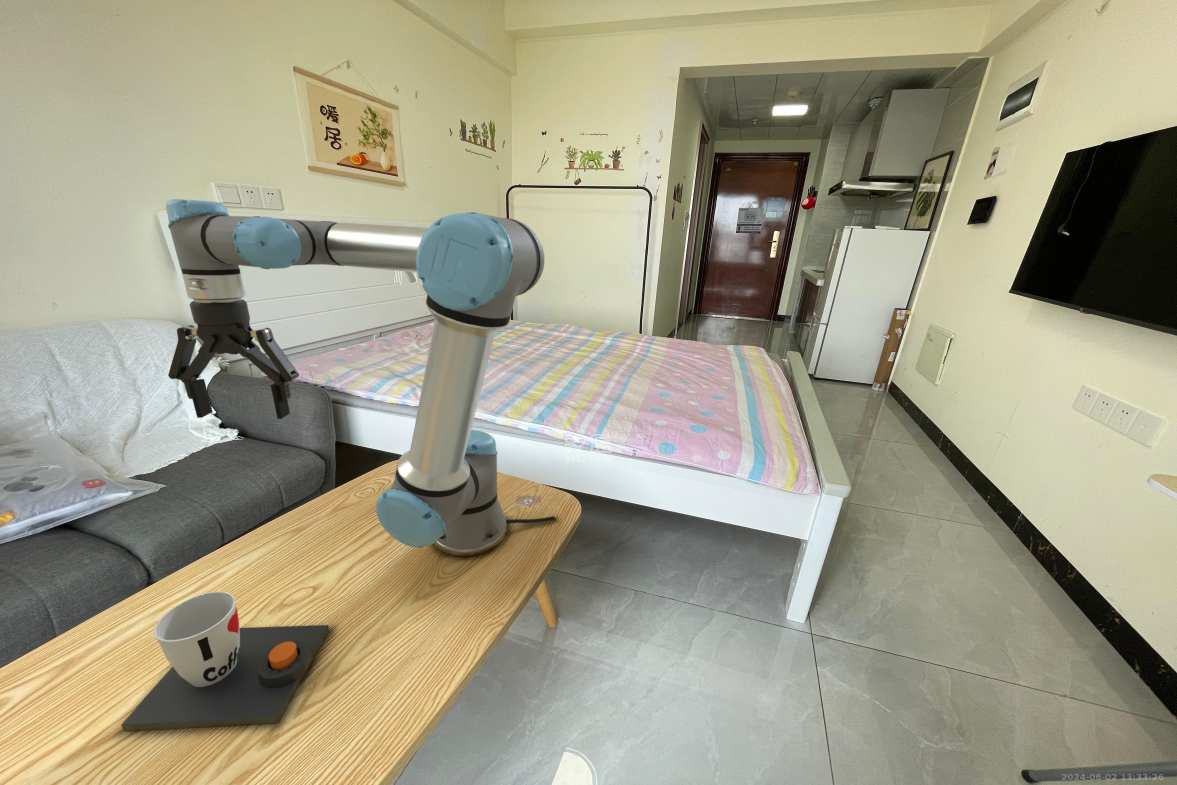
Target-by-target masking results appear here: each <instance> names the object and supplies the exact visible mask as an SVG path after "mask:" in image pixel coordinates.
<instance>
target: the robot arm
mask: <svg viewBox="0 0 1177 785" xmlns="http://www.w3.org/2000/svg"><path fill="white" fill-rule="evenodd" d="M165 209H166V214H167V219H168V223H167V226H168V229H169V231H170V235H171V238H172V242H173V246H174V250H175V253H176V257H177V261H178V264H179V268H180V270H181V274H182V279H183V283H184V287H185V291H186V296H187V298H188V299H190V300H192V301H190V303H189V309H190V312H191V316H192V320H193V323H194V324H196V325H197V327H195V326H194V325H192V324H190V325H185V326H181V327H178V328H177V329H176V334H177V335H176V336H177V343H176V346H175V350H174V354H173V356H172V361H171V364H170V367H169V371H168V374H167V375H168V378H169V379H171V380H178V381H181V382H182V383H183V384H184V388H185V392H186V396H187V398H188V399H189V400H192V403H193V407H194V411H195V415H196V418H197V419H203V418H204V417H207V416H208V415H210V414H212V413H213V408H212V404H211V401H210V396H209V393H208V389H207V385H206V380H205V379H204V378H201V377H202V376H201V375H202V374H203V372H204V371H205V369H206V367H207V366H208V364H209V363H210V362H211V360H212V359H213V357H214V356H215V355H224V354H228V355H238V354H239V355H240V356H241V357H243V358H246V359H247V360H249V361H250V362H251V363H252V364H253V365H254V366H255V367H256V368H258V370H260V371H261V372H263V374H264V375H265V376H267V377H268V378H269V379H270V380H271V381H272V382H273V383H271V384H270V391H271V394H272V399H273V404H274V409H275V412H276V419H277V420H282V419H284V418H285V417H286V416H288V415H290V414H291V411H290V406H289V399H291V397H292V393H291V388H290V382H291V381H293V380H295V379H297V378H299V377H300V373H299V372H298V370H297V369H296V367H295V366H294V365H293V363H292V362H291V361H290V359H289V358H288V357H287V355H286V354H285V352H284V351H283V350H282V348H281V346H279V344H278V343H277V341H276V340H275V338H274V333H273V331H272V328H270V327H263V328H261V329H252V327H251V325H250V323H251V322H250V321H251V316H250V311H249V307H248V303H247V301H246V300H245V299H243V298H244V297H245V296H246V292H245V286H244V282H243V277H242V273H241V268H240V266H244V267H251V268H260V269H263V270H271V269H273V270H275V269H287V268H291V267H293V266H307V265H314V266H315V265H316V266H317V265H324V266H325V265H327V266H339V267H352V268H353V267H354V268H364V269H374V270H376V269H377V270H387V271H395V272H396V271H397V272H406V273H407V272H408V273H416V274H417V277H418V280H419V279H420V280H421V282H422V285H421V286H422V289H423V290H424V292H425V293H426V294H427V295H426V300H425V307H426V308H427V310H428V311H429V312H430V314H431V315H432V316H433V318H434V322H433V327H432V332H431V337H430V343H429V348H428V354H427V359H426V363H425V370H424V375H423V380H422V386H421V392H420V396H419V402H418V406H417V411H416V417H415V418H416V419H415V422H414V426H413V427H414V428H413V433H412V438H411V444H410V449H409V450H407V451H406V452H404V453H402V455H401V456H400V457H399V459H398V461H397V464H396V465H397V466H396V469H395V476H394V481H393V483H392V485H391V487H389V488H387V489H384V491H383V492H382V493H381V495H380V496H379V497H378V499H377V500H376V504H375V513H376V517H377V520H378V522H379V524H380V525H381V527H383V529H384V530H385V531H386V533H387V535H389V536H390V537H391V538H393V539H394V540H396V541H397V542H399V543H401V544H403V545H405V546H408V547H411V548H417V549H420V548H421V549H422V548H424V547H425V548H427V547H430V546H432V545H435V547H436V548H437V549H438V550H439V551H440V552H442V553H445V554H447V555H450V556H454V557H470V556H477V555H481V554H484V553H486V552H488V551H491V550H493V549H494V548H496V547H497V546H498V545H499V544H501V543H502V541H503V540H504V539H505V537H506V535H507V528H508V527H507V526H508V525H507V524H536V523H544V522H549V521H550V522H551V521H555V520H556V516H555V515H552V516H546V517H541V518H516V519H515V518H512V519H511V518H510V519H506V516H505V513H504V511H503V509H502V506H501V504H500V501H499V499H498V456H497V455H498V450H497V442H496V439H495V437H494V436H492V435H491V434H490V433H488V432H485V431H482V430H478V429H477V430H476V429H472V428H473V424H474V420H475V416H476V411H477V408H478V404H479V401H480V397H481V392H482V391H481V390H482V387H483V384H484V379H485V376H486V372H487V367H488V364H489V360H490V355H491V352H492V347H493V344H494V340H495V335H496V333H498V332H500V331H501V330H504V329H506V328H507V327H508V326H509V324H510V319H511V316H512V312H513V310H514V309H513V307H514V305H515V304H514V303H515V300H516V297H518V296H521V295H524V294H526V293H527V292H529V291H530V290H531V289H532V288H534V287H535V285H537V284H538V282H539V280H540V278H541V277H542V275H543V272H544V269H545V251H544V247H543V244H542V241H541V240H540V238H539V237H538V235H537V234H536V232H535V231H534V230H533V229H532V228H531V227H529V226H528V225H527V224H525V223H524V222H522V221H519V220H517V219H514V218H509V217H500V216H495V215H489V214H483V213H478V212H476V211H470V212H469V211H467V212H461V213H460V212H459V213H458V212H457V213H450V214H447V215H444V216H442V217H440V218H439V219H437V220H436V221H434V222H433V223H432V224H431V225H429V227H421V226H406V225H405V226H403V225H388V224H387V225H386V224H373V223H372V224H369V223H355V222H337V221H332V220H331V221H330V220H303V219H290V218H276V217H275V218H274V217H270V216H260V215H253V216H246V215H244V216H243V215H230V214H229V211H228V208H227V206H226V205H225V204H224V203H222V202H220V201H210V200H209V201H208V200H199V199H198V200H197V199H183V198H182V199H181V198H172V199H168V200H167V201H166V204H165ZM198 338H199V339H200V340H201V341H202V342H203V343H202V345H200V347H199V349H198V350H197V354H196V355H195V357H194V358H193V359H192V357H193V353H194V350H195V347H196V344H197V339H198ZM253 340H254V341H255V342H258V344H259V345H258V344H256V343H255V342H254V341H253ZM261 349H262V350H261ZM191 360H192V361H191ZM554 516H555V517H554Z"/></svg>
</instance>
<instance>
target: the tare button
mask: <svg viewBox="0 0 1177 785" xmlns="http://www.w3.org/2000/svg"><path fill="white" fill-rule="evenodd" d="M297 656H298V651H297V647H296V644H295V643H294V642H290V641H289V642H284V643H281V644H279V645H277V646H276V647H275V648H273V649H272V651H271V652H270V654H269V661H270V665H271V667H272V668H273V669H275V670H280V669H283V668H286V667H288V666H290V665H291V664H292V663H293V662H294V661H295V660H296V659H297Z"/></svg>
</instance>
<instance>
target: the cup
mask: <svg viewBox="0 0 1177 785" xmlns="http://www.w3.org/2000/svg"><path fill="white" fill-rule="evenodd" d="M239 618H240V617H239V613H238V607H237V602H236V598H235V596H234V594H232V593H230V592H228V591H219V590H218V591H209V592H205V593H201V594H197V595H195V596H193V597H190V598H187V599H186V600H184V601H182V602H180V603H178V604H177V605H175V606H173V607H172V608H170V609H169V610H168V611H167V612H165V613H164V614H163V615H162V616H161V617H160V618H159V620H158V621H157V622H156V624H155V626H154V629H153V635H154V637H155V638H156V641H157V643H158V645H159V647H160V649H161V651H162V652H163V655H164V657H165V659H166V660H167V661H168V663H169V664H170V665H171V667H172V666H173V668H174V669H175V670H176V671H177V673H178V674H179V675H180V676H181V677H182V678H184V679H185V680H186V681H188V682H189V683H190V684H192V685H193V686H195V687H205V686H209V685H212V684H214V683H216V682H218V681H220V680H222V679H223V678H225V677H226V676H227V675H228V674H229V673H230V672H231V671H232V670H233V669H234V667H235V666H236V663H237V659H238V653H239V648H240V628H241V627H240V626H241V625H240V619H239Z"/></svg>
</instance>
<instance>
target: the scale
mask: <svg viewBox="0 0 1177 785" xmlns="http://www.w3.org/2000/svg"><path fill="white" fill-rule="evenodd" d="M329 627H330V626H329V625H328V624H320V625H319V624H318V625H290V626H289V625H288V626H287V625H286V626H284V625H283V626H259V627H258V626H256V627H255V626H253V627H240V648H239V653H238V659H237V663H236V666H235V667H234V669H233V670H232V671H231V672H230V673H229V674H228V675H227V676H226V677H225V678H223V679H222V680H220V681H218V682H216V683H214V684H212V685H209V686H205V687H195V686H193V685H192V684H190V683H189V682H188V681H186V680H185V679H184V678H182V677H181V676H180V675H179V674H178V673H177V671H176V670H175V669H174V668H173V666H172V665H171V667H170V669H169V670H167V672H166V673H165V674H164V675H163V676H162V678H161V679H160V680H159V681H158V682H157V683H156V684H155V685H154V687H153V688H152V689H151V690H150V691H149V693H147V695H146V696H145V697H144V698H143V699H142V700H141V701H140V703H139V704H138V705H137V706H136V707H135V708H134V710H133V711H132V712H131V713H130V714H129V715H128V716H127V718H125V720H124V721H122V723H121V727H122V729H123V731H124V732H131V731H134V732H135V731H152V730H168V729H170V730H171V729H189V728H190V729H191V728H206V727H207V728H209V727H226V726H227V727H228V726H248V725H264V724H265V725H266V724H267V725H268V724H278V723H279V722H280V720H281V718H282V716H283V714H284V712H286V709H287V707H288V706H289V703H290V702H291V700H292V698H293V696H294V695H295V694H296V691H297V689H298V687H299V685H300V684H301V682H302V680H303V678H304V677H305V675H306V673H307V672H308V669H309V668H310V666H311V664H312V662H313V661H314V659H315V657H316V655H317V653H318V652H319V650H320V648H321V647H322V644H323V643H324V641H325V639H326V637H327V636H328V634H329V632H330V628H329ZM289 641H290V642H294V643H295V644H296V647H297V651H298V656H297V659H296V660H295V661H294V662H293V663H292V664H291V665H290V666H288V667H286V668H283V669H280V670H275V669H273V668H272V667H271V665H270V661H269V654H270V652H271V651H272V649H273V648H275V647H276V646H277V645H279V644H281V643H284V642H289Z"/></svg>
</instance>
